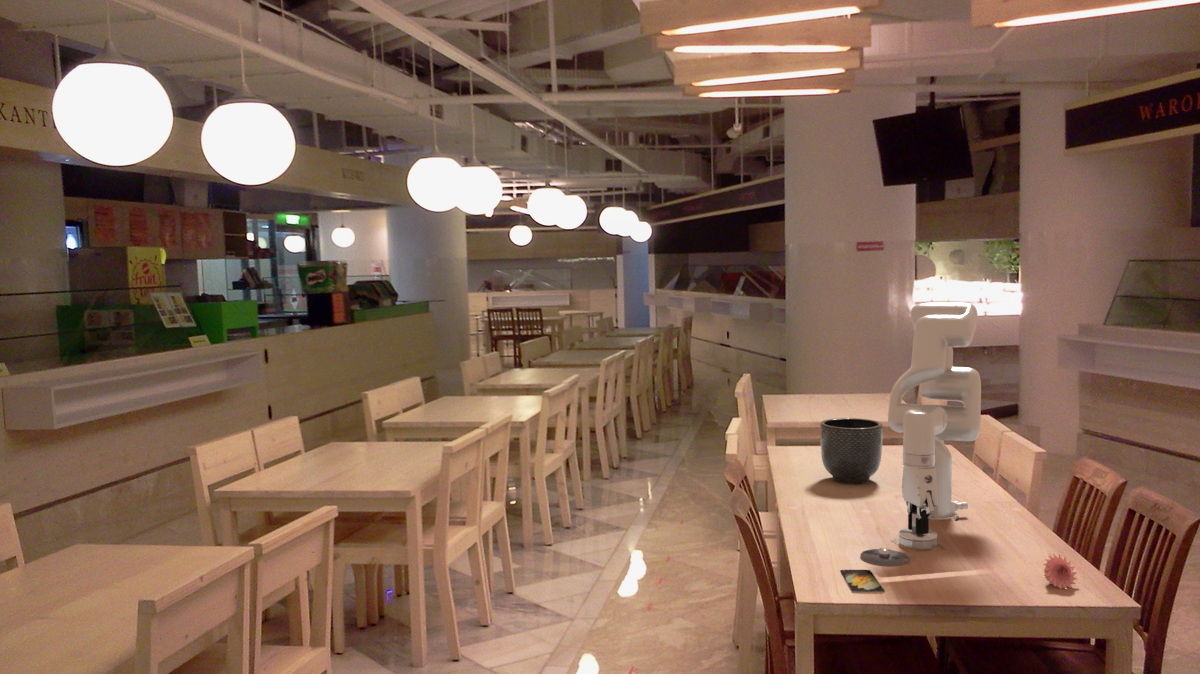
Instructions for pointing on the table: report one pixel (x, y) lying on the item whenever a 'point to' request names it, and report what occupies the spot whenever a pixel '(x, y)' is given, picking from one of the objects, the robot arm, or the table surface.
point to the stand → (917, 549)
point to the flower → (1059, 572)
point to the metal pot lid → (884, 557)
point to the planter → (851, 448)
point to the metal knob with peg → (917, 537)
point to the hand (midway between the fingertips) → (918, 530)
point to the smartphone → (862, 581)
